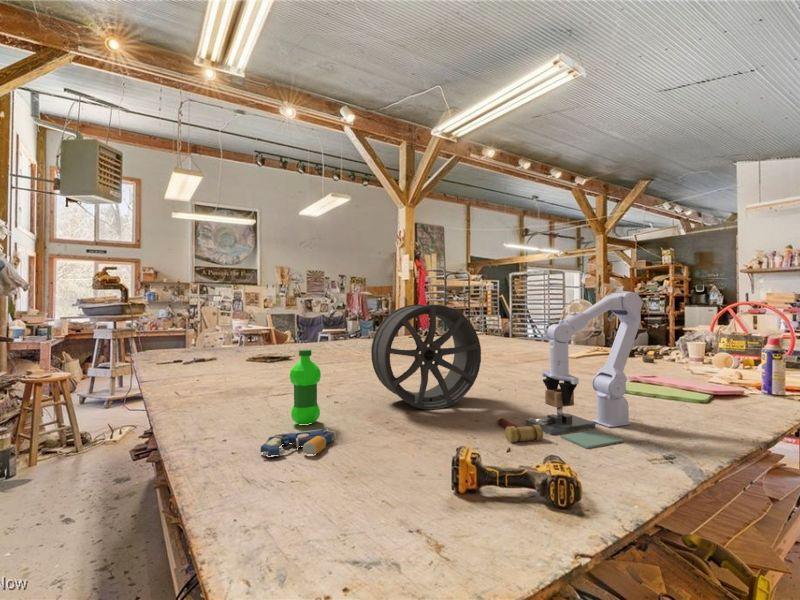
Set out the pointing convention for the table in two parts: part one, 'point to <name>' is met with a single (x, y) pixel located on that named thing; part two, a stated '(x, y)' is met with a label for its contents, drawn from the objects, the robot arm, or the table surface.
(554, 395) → the sleeve block
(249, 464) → the table surface
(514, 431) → the gavel
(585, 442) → the mat
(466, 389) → the car wheel rim
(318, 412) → the plastic bottle
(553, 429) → the vise
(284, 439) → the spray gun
